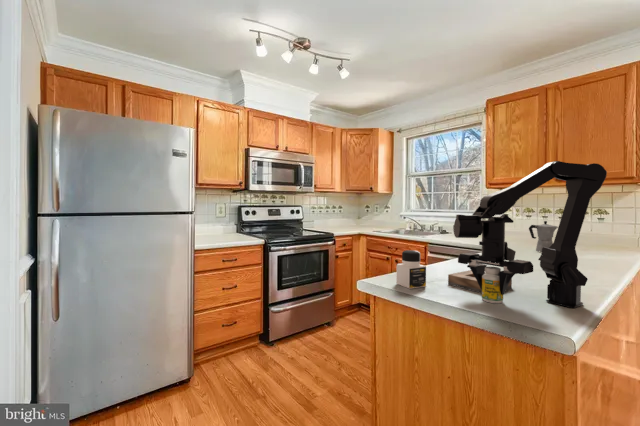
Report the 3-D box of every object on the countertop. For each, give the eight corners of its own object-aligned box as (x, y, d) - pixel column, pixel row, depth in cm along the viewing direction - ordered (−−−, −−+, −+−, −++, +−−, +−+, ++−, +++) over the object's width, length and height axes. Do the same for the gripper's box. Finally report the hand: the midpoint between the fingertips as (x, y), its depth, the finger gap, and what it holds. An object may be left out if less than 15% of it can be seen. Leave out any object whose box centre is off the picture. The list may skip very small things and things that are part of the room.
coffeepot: (552, 250, 184) (553, 220, 183) (562, 252, 175) (562, 221, 174) (524, 249, 187) (525, 220, 186) (532, 251, 178) (533, 221, 177)
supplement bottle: (502, 299, 89) (503, 267, 88) (503, 304, 84) (504, 270, 84) (481, 296, 91) (482, 265, 91) (481, 301, 87) (482, 268, 86)
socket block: (511, 288, 101) (511, 277, 101) (488, 294, 94) (488, 283, 93) (471, 279, 113) (471, 269, 113) (448, 284, 105) (448, 274, 105)
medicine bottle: (409, 289, 100) (409, 253, 99) (395, 283, 106) (396, 250, 106) (426, 286, 102) (426, 251, 102) (412, 281, 109) (412, 248, 109)
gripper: (543, 239, 83) (542, 295, 84) (477, 234, 99) (477, 281, 100) (523, 242, 77) (522, 302, 78) (457, 235, 93) (456, 286, 94)
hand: (492, 291), depth 87 cm, fingers closed on supplement bottle, 5 cm apart
